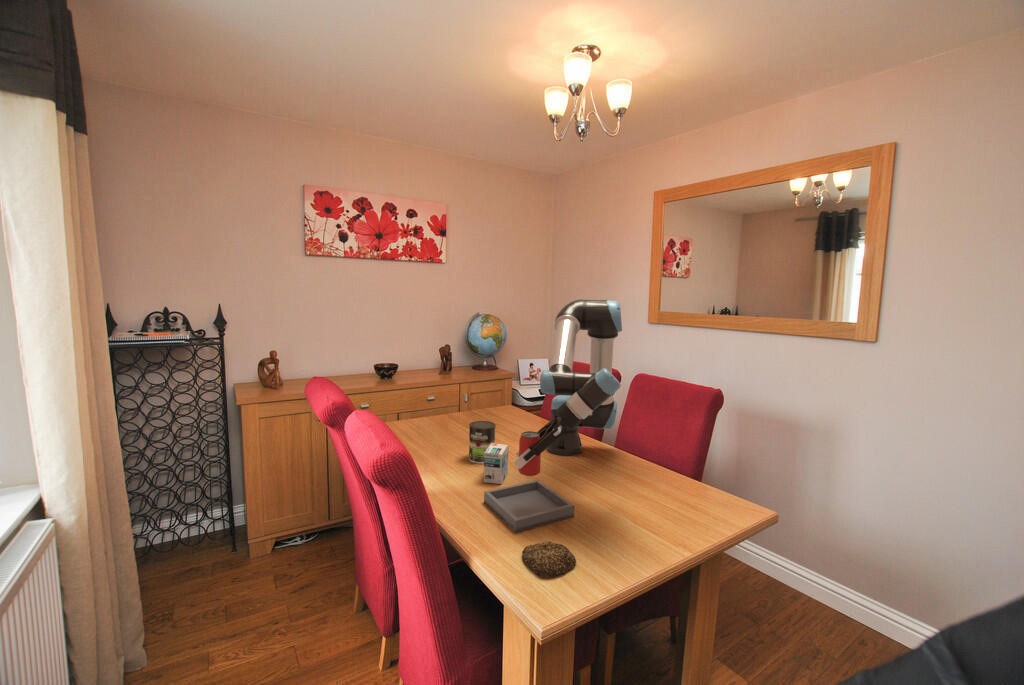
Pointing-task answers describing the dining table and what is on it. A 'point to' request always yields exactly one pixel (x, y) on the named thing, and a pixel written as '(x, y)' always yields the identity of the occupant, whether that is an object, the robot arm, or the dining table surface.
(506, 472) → the light bulb box
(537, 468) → the beer can
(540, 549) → the bread roll
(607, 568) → the dining table surface
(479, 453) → the coffee can
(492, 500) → the tray
